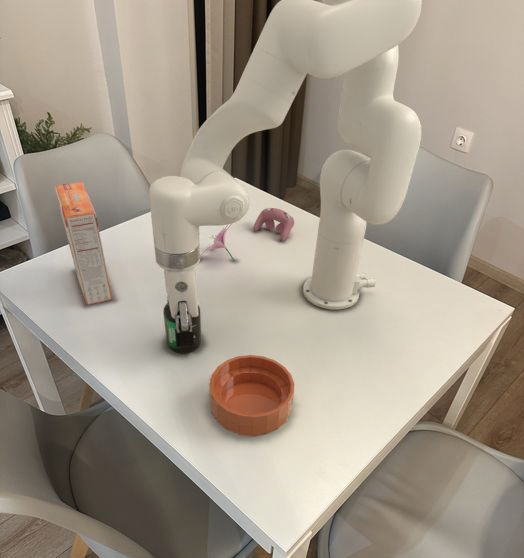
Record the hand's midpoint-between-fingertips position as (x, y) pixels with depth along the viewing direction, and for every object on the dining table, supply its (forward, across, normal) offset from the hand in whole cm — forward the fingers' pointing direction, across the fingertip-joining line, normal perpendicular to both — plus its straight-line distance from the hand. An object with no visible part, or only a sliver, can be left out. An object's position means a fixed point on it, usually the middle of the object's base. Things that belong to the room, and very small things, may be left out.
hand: (183, 330), depth 99 cm
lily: (+4, +30, -11) cm, 32 cm away
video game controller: (+4, +40, -27) cm, 48 cm away
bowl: (+3, -18, -10) cm, 21 cm away
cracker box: (+4, +22, +18) cm, 29 cm away
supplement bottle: (+4, 0, 0) cm, 4 cm away
